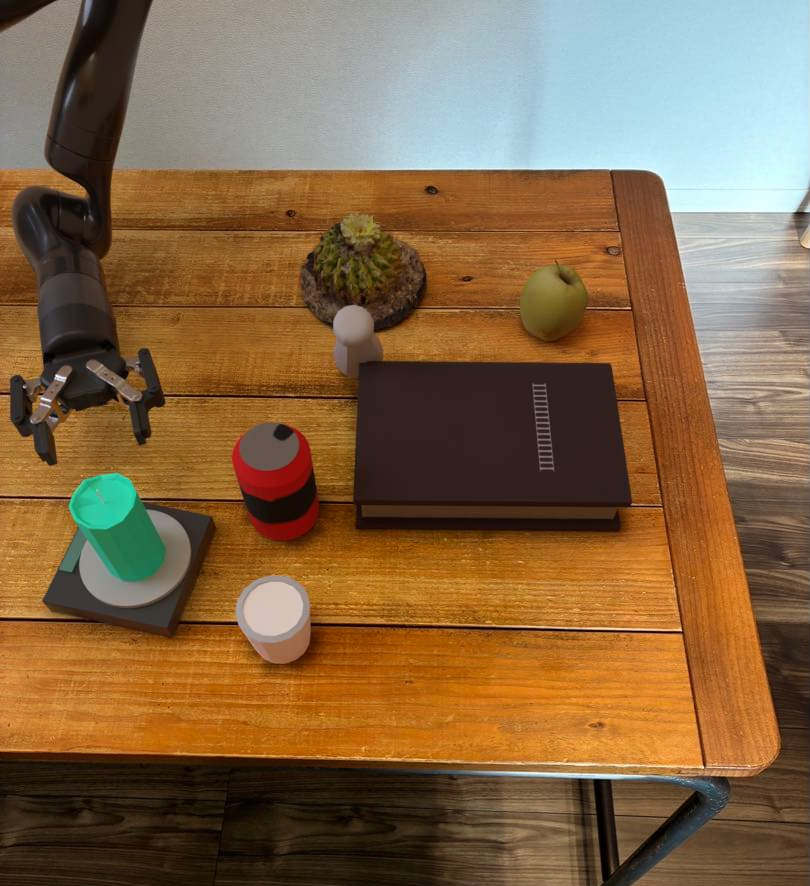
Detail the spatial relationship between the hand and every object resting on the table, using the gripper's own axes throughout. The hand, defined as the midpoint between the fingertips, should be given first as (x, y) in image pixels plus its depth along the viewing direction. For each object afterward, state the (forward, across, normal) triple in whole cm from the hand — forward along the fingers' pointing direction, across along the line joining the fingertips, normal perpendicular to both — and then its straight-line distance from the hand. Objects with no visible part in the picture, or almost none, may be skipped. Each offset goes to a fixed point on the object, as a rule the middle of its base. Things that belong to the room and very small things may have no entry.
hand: (95, 450), depth 78 cm
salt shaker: (-13, +29, +10) cm, 33 cm away
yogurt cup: (+19, +12, +12) cm, 25 cm away
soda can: (+5, +16, +12) cm, 20 cm away
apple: (-12, +53, +12) cm, 56 cm away
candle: (+7, 0, +9) cm, 11 cm away
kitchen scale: (+7, 0, +12) cm, 14 cm away
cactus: (-26, +33, +12) cm, 44 cm away
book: (+4, +39, +12) cm, 41 cm away
